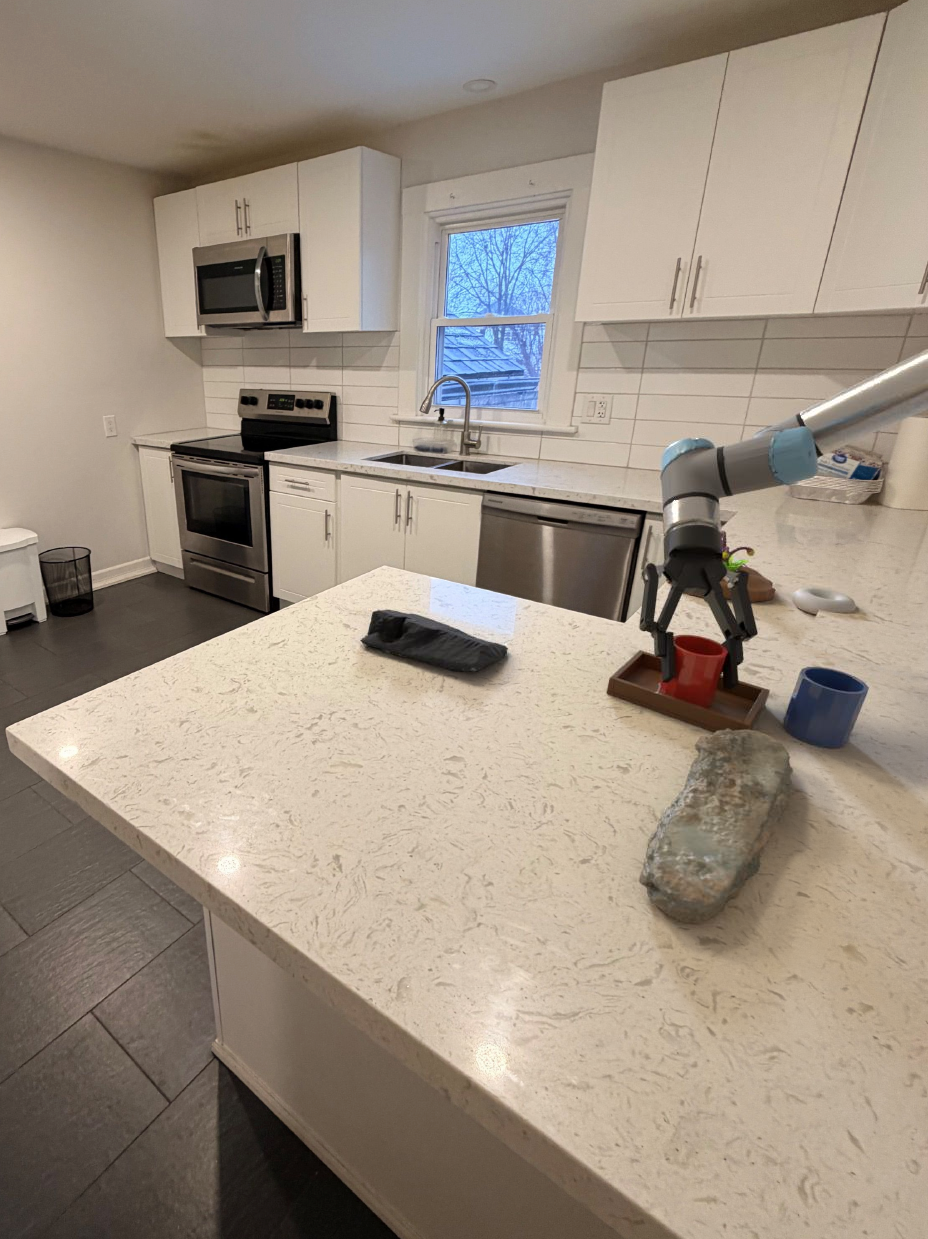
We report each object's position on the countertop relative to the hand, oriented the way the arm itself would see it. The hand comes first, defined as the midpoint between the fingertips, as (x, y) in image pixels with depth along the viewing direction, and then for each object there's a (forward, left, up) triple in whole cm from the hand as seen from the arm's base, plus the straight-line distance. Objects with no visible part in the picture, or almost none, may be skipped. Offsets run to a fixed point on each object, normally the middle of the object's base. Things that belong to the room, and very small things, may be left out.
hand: (699, 683), depth 87 cm
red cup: (+2, -3, -4) cm, 5 cm away
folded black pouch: (+37, +9, -5) cm, 38 cm away
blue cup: (-13, -6, -5) cm, 15 cm away
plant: (+12, -60, -5) cm, 61 cm away
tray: (+2, -3, -5) cm, 6 cm away
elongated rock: (-9, +22, -5) cm, 24 cm away
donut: (-7, -59, -5) cm, 60 cm away
